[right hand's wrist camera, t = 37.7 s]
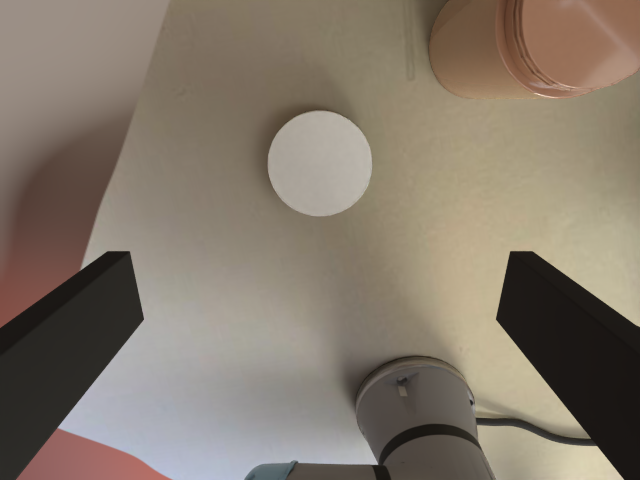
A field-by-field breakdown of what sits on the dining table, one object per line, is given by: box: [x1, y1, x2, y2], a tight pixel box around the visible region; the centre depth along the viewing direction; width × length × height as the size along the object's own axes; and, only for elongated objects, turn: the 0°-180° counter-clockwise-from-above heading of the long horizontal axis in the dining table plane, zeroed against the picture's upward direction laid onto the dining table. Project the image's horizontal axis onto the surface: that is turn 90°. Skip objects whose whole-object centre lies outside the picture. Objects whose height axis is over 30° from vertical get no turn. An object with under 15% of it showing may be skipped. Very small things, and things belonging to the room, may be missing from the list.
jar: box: [429, 0, 640, 99], centre depth 26 cm, size 10×10×15 cm
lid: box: [267, 110, 372, 216], centre depth 36 cm, size 10×10×2 cm
